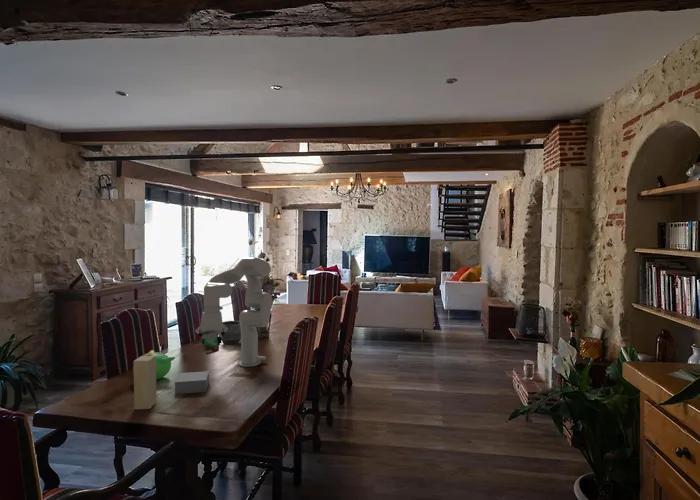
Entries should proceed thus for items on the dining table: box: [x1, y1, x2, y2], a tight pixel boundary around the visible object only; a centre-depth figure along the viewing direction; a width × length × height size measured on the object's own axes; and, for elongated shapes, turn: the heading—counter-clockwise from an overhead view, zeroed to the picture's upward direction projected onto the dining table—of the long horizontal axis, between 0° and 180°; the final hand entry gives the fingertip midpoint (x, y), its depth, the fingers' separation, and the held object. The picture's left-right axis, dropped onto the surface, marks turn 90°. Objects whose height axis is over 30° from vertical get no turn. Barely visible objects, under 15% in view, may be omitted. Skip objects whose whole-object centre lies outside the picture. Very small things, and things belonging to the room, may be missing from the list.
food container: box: [203, 332, 220, 355], centre depth 215 cm, size 12×6×10 cm, turn 2°
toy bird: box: [132, 349, 176, 381], centre depth 222 cm, size 18×17×15 cm
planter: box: [221, 320, 241, 346], centre depth 299 cm, size 14×14×15 cm
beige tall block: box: [133, 355, 157, 410], centre depth 187 cm, size 8×7×21 cm
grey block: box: [174, 370, 210, 395], centre depth 211 cm, size 14×14×6 cm
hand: (211, 344), depth 215 cm, fingers closed on food container, 6 cm apart
